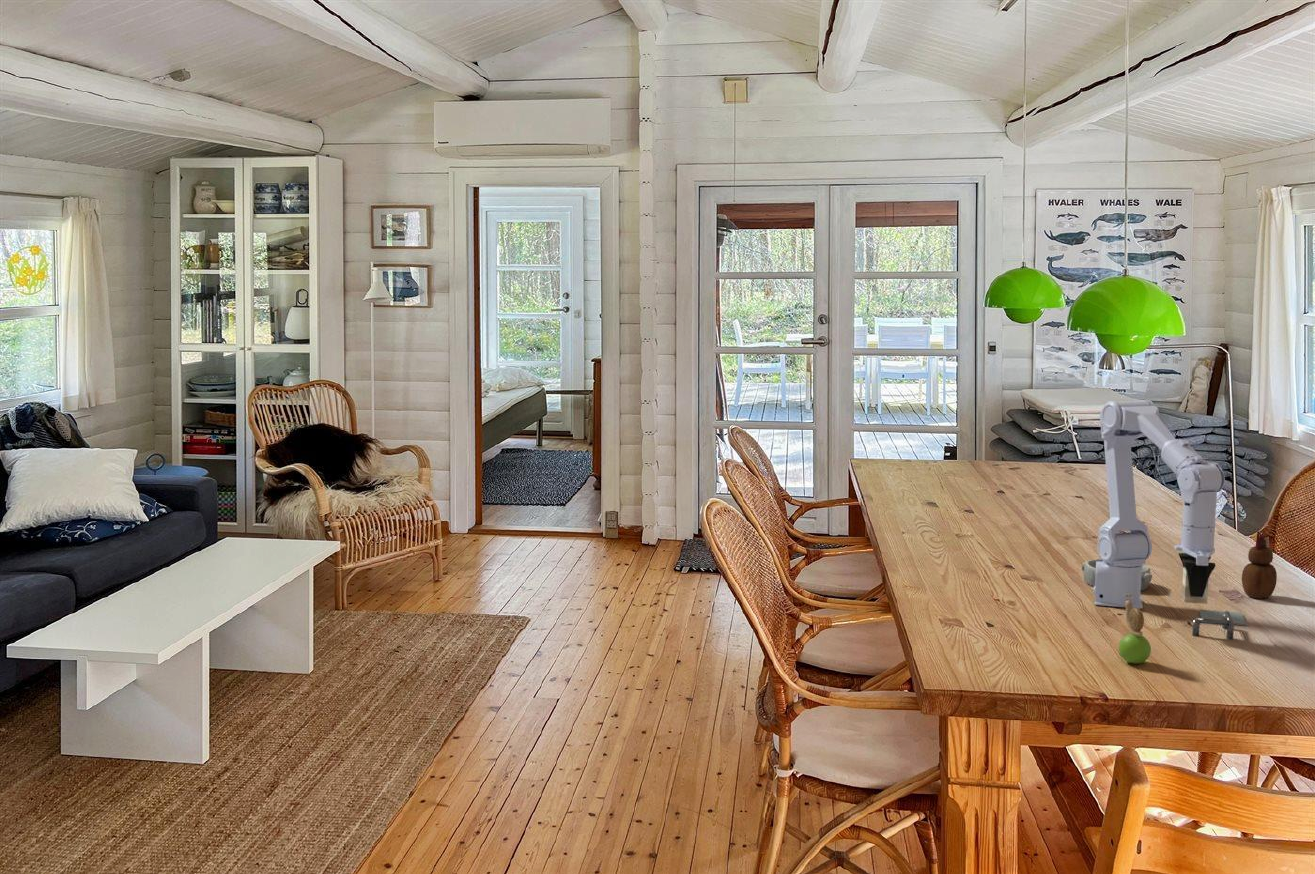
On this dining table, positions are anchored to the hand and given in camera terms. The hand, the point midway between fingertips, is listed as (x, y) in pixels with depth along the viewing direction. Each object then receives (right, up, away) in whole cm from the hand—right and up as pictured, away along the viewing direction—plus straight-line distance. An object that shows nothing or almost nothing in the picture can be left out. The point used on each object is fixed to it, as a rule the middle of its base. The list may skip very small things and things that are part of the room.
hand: (1194, 593), depth 216 cm
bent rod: (+5, -8, +3) cm, 10 cm away
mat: (+11, -7, +12) cm, 18 cm away
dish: (0, -4, +38) cm, 39 cm away
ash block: (0, -1, 0) cm, 1 cm away
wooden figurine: (+27, -5, +27) cm, 38 cm away
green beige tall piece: (-18, -11, -14) cm, 25 cm away
